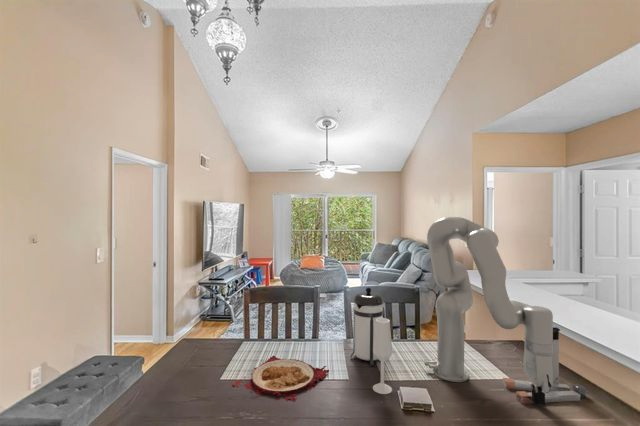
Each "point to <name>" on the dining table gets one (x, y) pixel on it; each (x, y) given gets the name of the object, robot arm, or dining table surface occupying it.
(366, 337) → the coffee press
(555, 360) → the travel mug
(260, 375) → the plate with food
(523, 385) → the base
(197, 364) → the dining table surface
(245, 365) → the dining table surface
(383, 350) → the champagne flute
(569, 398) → the arm
